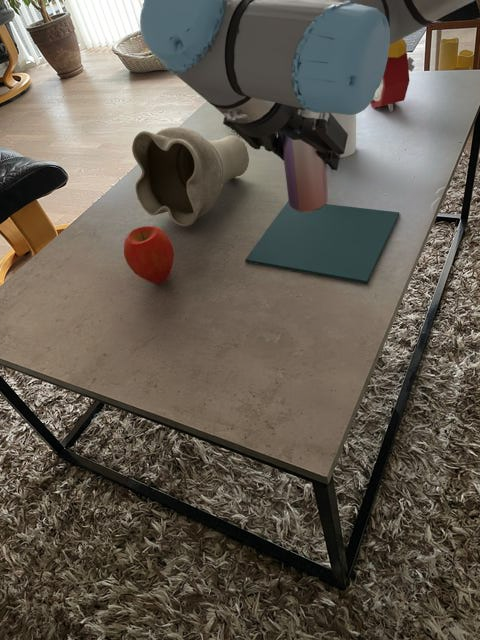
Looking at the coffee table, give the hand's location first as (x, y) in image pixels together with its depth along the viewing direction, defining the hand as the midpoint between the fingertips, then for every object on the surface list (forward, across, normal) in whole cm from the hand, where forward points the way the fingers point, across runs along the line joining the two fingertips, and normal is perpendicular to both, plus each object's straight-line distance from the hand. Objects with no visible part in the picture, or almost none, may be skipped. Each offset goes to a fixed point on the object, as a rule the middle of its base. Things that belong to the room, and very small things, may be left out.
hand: (314, 159), depth 73 cm
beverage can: (+1, 0, -6) cm, 7 cm away
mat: (+16, -1, -9) cm, 18 cm away
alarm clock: (+57, -5, +32) cm, 65 cm away
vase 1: (+22, -29, -4) cm, 37 cm away
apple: (+3, -25, -23) cm, 34 cm away
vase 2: (+39, -11, +13) cm, 42 cm away
